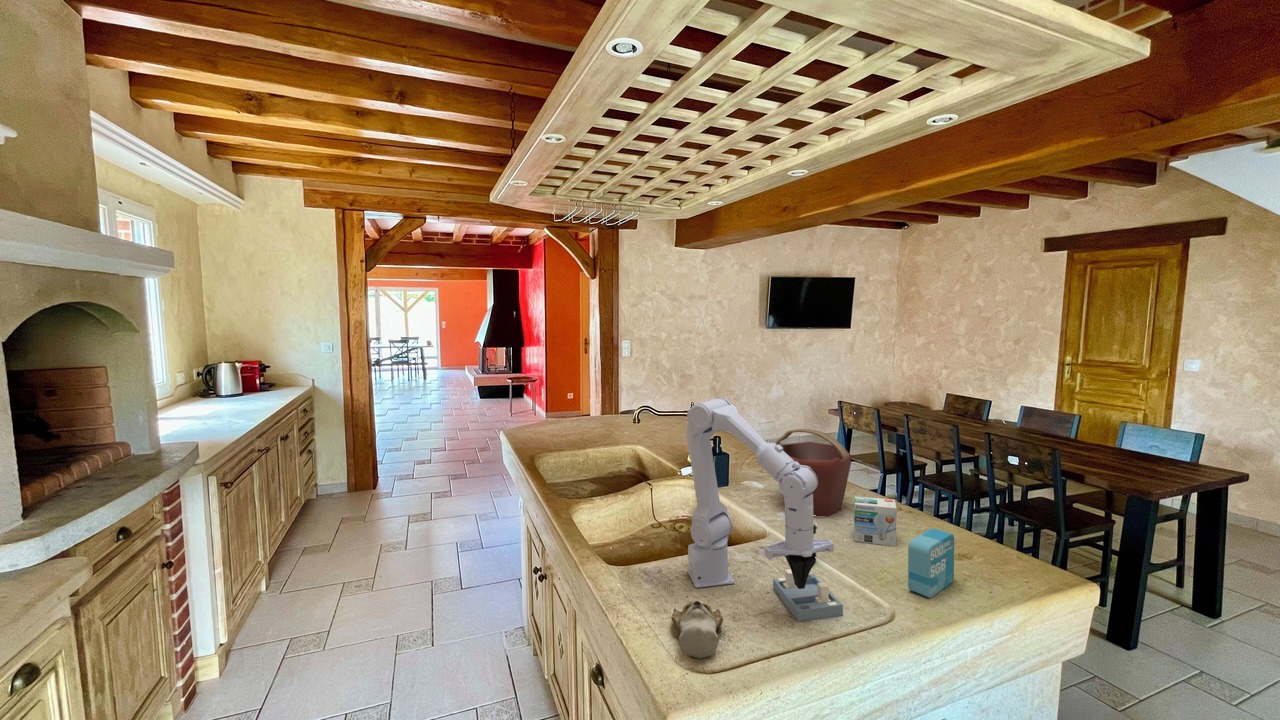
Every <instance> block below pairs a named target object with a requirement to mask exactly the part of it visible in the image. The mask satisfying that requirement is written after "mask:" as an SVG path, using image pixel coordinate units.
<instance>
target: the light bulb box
mask: <svg viewBox="0 0 1280 720" xmlns="http://www.w3.org/2000/svg"><path fill="white" fill-rule="evenodd" d="M853 505H854V507H853V509H854V510H853V539H854V542H856V543H857V542H859V543H866V544H873V545H882V546H887V547H888V546H890V547H897V513H898V512H897V509H898V508H897V504H896V500H895V499H891V498H890V499H889V498H879V497H866V496H858V495H855V496H854V503H853Z"/></svg>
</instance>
